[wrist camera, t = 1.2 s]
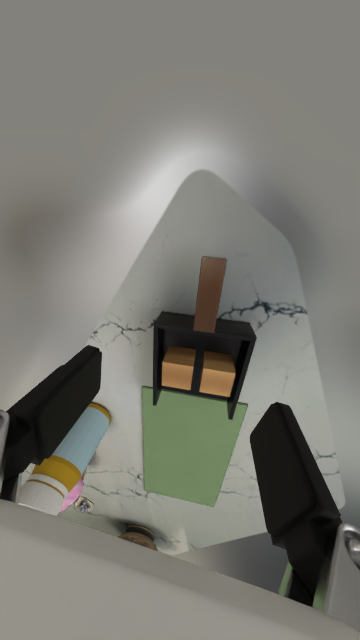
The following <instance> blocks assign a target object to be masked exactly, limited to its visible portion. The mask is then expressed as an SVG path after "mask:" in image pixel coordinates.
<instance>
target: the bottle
mask: <svg viewBox="0 0 360 640" xmlns="http://www.w3.org/2000/svg"><path fill="white" fill-rule="evenodd" d="M110 421H111V420H110V415H109V413H108V411H107V410H106V409H105V408H104V407H102V406H100V405H98V404H95V403H90V404H89V405H88V407H87V408H86V410H85V411H84V412H83V414H82V415H81V416H80V418H79V419H78V420H77V422H76V423H75V424H74V426H73V427H72V429H71V430H70V431H69V433H68V434H67V435H66V437H65V438H64V439H63V441H62V442H61V443H60V445H59V446H58V447H57V449H56V450H55V452H54V453H53V454H52V455H51V457H50V458H48V459H44V461H43V462H42V463H41V465H40V466H39V465H35V467H34V469H33V472H32V474H31V475H30V476H29V477H28V479H27V480H26V482H25V483H24V484H23V485H22V486H21V488H20V494H19V502H18V504H20V505H23V506H26V507H29V508H32V509H36V510H39V511H42V512H45V513H48V514H51V515H54V516H57V514H58V512H59V510H60V509H61V507H62V505H63V502H64V501H65V499H66V497H67V495H68V493H69V492H70V491H71V490H72V489H73V488H74V486H75V485H76V484H77V483H78V482H79V480H80V478H81V476H82V475H83V473H84V471H85V469H86V467H87V465H88V463H89V462H90V460H91V458H92V456H93V454H94V452H95V451H96V449H97V447H98V445H99V443H100V441H101V440H102V438H103V436H104V434H105V432H106V430H107V428H108V427H109V424H110Z"/></svg>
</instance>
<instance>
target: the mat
mask: <svg viewBox="0 0 360 640" xmlns="http://www.w3.org/2000/svg"><path fill="white" fill-rule="evenodd" d="M142 405H143V449H144V491H148V492H153V493H157V494H161V495H165V496H169V497H173V498H177V499H181V500H186V501H190V502H194V503H198V504H202V505H206V506H210V507H214V506H215V503H216V500H217V497H218V494H219V491H220V488H221V485H222V482H223V479H224V476H225V473H226V470H227V467H228V464H229V461H230V458H231V455H232V452H233V449H234V446H235V443H236V440H237V437H238V434H239V431H240V428H241V425H242V422H243V419H244V416H245V413H246V410H247V407H248V404H244V403H237V406H236V409H235V413H234V416H233V420H229V419H228V411H227V401H226V400H221V399H215V398H209V397H204V396H198V395H192V394H187V393H181V392H175V391H170V390H164V389H162V390H161V393H160V396H159V399H158V402H157V406H154V405H153V387H147V386H142Z"/></svg>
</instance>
